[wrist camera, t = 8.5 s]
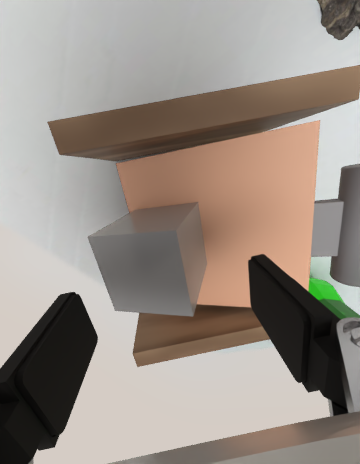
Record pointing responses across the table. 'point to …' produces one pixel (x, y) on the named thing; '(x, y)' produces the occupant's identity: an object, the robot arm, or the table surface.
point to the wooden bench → (194, 134)
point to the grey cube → (153, 259)
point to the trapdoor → (255, 207)
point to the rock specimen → (340, 16)
